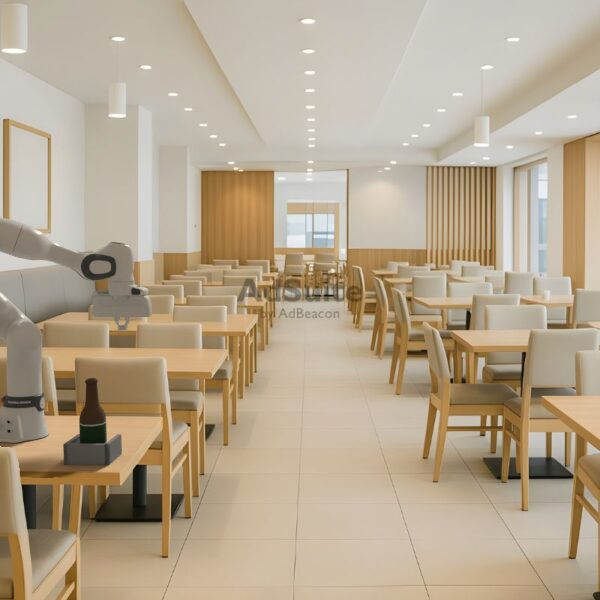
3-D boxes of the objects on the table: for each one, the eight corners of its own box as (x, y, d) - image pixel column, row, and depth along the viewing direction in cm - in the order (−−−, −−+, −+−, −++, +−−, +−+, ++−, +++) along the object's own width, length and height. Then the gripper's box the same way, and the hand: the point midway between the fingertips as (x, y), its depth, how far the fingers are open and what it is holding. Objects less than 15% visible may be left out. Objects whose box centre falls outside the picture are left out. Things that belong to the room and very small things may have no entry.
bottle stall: (63, 464, 232) (63, 444, 231) (79, 453, 244) (78, 433, 243) (108, 465, 230) (108, 444, 230) (121, 453, 243) (121, 434, 242)
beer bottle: (81, 463, 233) (78, 381, 231) (79, 456, 240) (77, 377, 238) (108, 460, 235) (105, 380, 234) (106, 453, 243) (103, 375, 241)
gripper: (88, 290, 269) (89, 331, 270) (148, 290, 267) (149, 331, 268) (95, 289, 275) (96, 329, 276) (153, 289, 273) (154, 329, 275)
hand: (122, 330), depth 272 cm, fingers closed
